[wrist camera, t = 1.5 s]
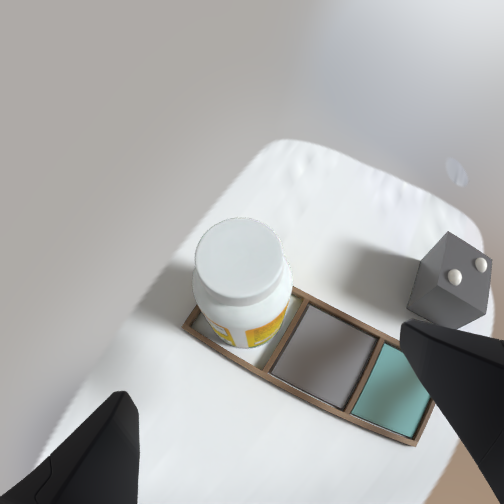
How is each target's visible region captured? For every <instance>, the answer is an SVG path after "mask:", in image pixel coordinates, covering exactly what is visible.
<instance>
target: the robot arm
mask: <svg viewBox="0 0 504 504" xmlns="http://www.w3.org/2000/svg"><path fill="white" fill-rule="evenodd" d="M399 344H400V348H401V350H402V352H403V354H404V355H405V357H406V359H407V360H408V362H409V364H410V365H411V367H412V369H413V371H414V372H415V374H416V376H417V378H418V379H419V381H420V382H421V384H422V385H423V387H424V388H425V389H426V391H427V392H428V393H429V395H430V396H431V398H432V399H433V400H434V402H435V403H436V405H437V406H438V407H439V409H440V410H441V412H442V413H443V415H444V416H445V417H446V419H447V420H448V422H449V423H450V425H451V426H452V428H453V429H454V430H455V432H456V433H457V435H458V436H459V438H460V439H461V441H462V442H463V444H464V445H465V447H466V448H467V450H468V451H469V453H470V455H471V456H472V458H473V459H474V461H475V462H476V464H477V465H478V467H479V469H480V471H481V472H482V474H483V475H484V477H485V479H486V480H487V482H488V484H489V485H490V487H491V488H492V490H493V492H494V494H495V495H496V497H497V499H498V501H499V502H500V504H504V340H499V339H495V338H490V337H486V336H482V335H477V334H473V333H469V332H464V331H460V330H456V329H452V328H448V327H443V326H439V325H435V324H431V323H427V322H423V321H419V320H415V319H410V320H408V321H406V322H403V323H402V325H401V332H400V341H399ZM139 459H140V444H139V413H138V409H137V407H136V406H135V404H134V402H133V401H132V399H131V397H130V396H129V394H128V393H127V392H126V391H117V392H114V393H112V394H111V395H110V396H109V397H108V398H107V399H106V400H105V401H104V402H103V403H102V404H101V405H100V406H99V407H98V408H97V409H96V410H95V411H94V412H93V413H92V414H91V415H90V416H89V417H88V418H87V419H86V420H85V421H84V422H83V423H82V424H81V425H80V426H79V427H78V428H77V429H76V430H75V431H74V432H73V433H72V434H71V435H70V436H69V437H68V438H67V439H66V440H65V441H64V442H63V443H61V444H60V445H59V446H58V447H57V448H56V449H55V450H54V451H53V452H52V453H51V454H50V456H48V457H47V458H46V459H45V460H44V461H43V462H42V463H41V464H40V465H39V466H38V467H37V468H36V469H34V470H33V471H32V472H31V473H30V474H29V475H27V476H26V477H25V478H24V479H23V480H21V481H20V482H19V483H17V484H16V485H15V486H14V487H12V488H11V489H10V490H8V491H7V492H6V493H5V494H3V495H2V496H0V504H137V499H138V475H139Z"/></svg>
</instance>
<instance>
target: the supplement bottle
mask: <svg viewBox="0 0 504 504" xmlns="http://www.w3.org/2000/svg"><path fill="white" fill-rule="evenodd" d="M292 287H293V277H292V271H291V267H290V265H289V262H288V261H287V259H286V257H285V256H284V249H283V246H282V243H281V241H280V239H279V237H278V236H277V234H276V233H275V232H274V231H273V230H272V229H271V228H270V227H269V226H267V225H266V224H264V223H262V222H260V221H257V220H254V219H251V218H231V219H227V220H224V221H222V222H220V223H218V224H216V225H214V226H213V227H211V228H210V229H209V230H208V231H207V232H206V233H205V234H204V235H203V236H202V238H201V239H200V241H199V243H198V246H197V248H196V252H195V269H194V272H193V278H192V288H193V293H194V297H195V300H196V302H197V304H198V306H199V308H200V310H201V311H202V313H203V314H204V316H205V318H206V319H207V321H208V322H209V324H210V325H211V327H212V328H213V330H214V331H215V333H216V334H217V335H218V336H219V337H220V338H221V339H222V340H223V341H224V342H226V343H227V344H229V345H231V346H234V347H237V348H243V349H249V348H256V347H259V346H261V345H263V344H265V343H267V342H268V341H269V340H271V339H272V338H273V337H274V336H275V335H276V333H277V332H278V331H279V329H280V327H281V325H282V322H283V319H284V315H285V312H286V309H287V306H288V303H289V300H290V296H291V293H292Z"/></svg>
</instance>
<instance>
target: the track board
mask: <svg viewBox="0 0 504 504" xmlns="http://www.w3.org/2000/svg"><path fill="white" fill-rule="evenodd" d="M292 294H293V295H295V296H297V297H299V298H301V299H303V302H302V304H301V306H300V307H299V309H298V311H297V313H296V314H295V316H294V318H293V320H292V321H291V323H290V325H289V327H288V328H287V330H286V332H285V334H284V335H283V337H282V339H281V340H280V342H279V344H278V346H277V347H276V349H275V351H274V352H273V354H272V356H271V357H270V359H269V360H268V362H267V364H266V365H265V367H264V369H263V370H260V369H258V368H256V367H255V366H253V365H251V364H249V363H248V362H246V361H244V360H243V359H241V358H239V357H237V356H236V355H234V354H232V353H231V352H229V351H227V350H226V349H224V348H223V347H221V346H219V345H218V344H216V343H214V342H213V341H211V340H210V339H208V338H207V337H205V336H203V335H202V334H200V333H199V332H197V331H196V330H194V329H193V328H191V325H192V324H193V322H194V321H195V319H196V318H197V317H198V315H199V314H200V312H201V310H200V308H199V306H198V304H197V305H196V307H195V308H194V309H193V311H192V312H191V314H190V315H189V317H188V318H187V320H186V321H185V322H184V324H183V325H182V327H181V328H183V329H184V330H185V331H187V332H188V333H190V334H191V335H193V336H194V337H196V338H197V339H199V340H200V341H202V342H204V343H205V344H207V345H208V346H210V347H211V348H213V349H215V350H216V351H218V352H219V353H221V354H223V355H224V356H226V357H228V358H229V359H231V360H233V361H234V362H236V363H238V364H239V365H241V366H243V367H244V368H246V369H248V370H249V371H251V372H253V373H255V374H256V375H258V376H260V377H262V378H264V379H265V380H267V381H269V382H271V383H273V384H274V385H276V386H278V387H280V388H282V389H284V390H286V391H288V392H289V393H291V394H293V395H295V396H297V397H299V398H301V399H303V400H305V401H307V402H309V403H311V404H313V405H315V406H317V407H319V408H321V409H324V410H326V411H328V412H330V413H332V414H334V415H336V416H339V417H341V418H343V419H345V420H347V421H350V422H352V423H354V424H357V425H359V426H361V427H364V428H366V429H369V430H371V431H373V432H376V433H378V434H381V435H383V436H386V437H389V438H391V439H394V440H397V441H399V442H402V443H405V444H408V445H410V446H414V447H416V445H417V443H418V441H419V439H420V437H421V435H422V433H423V431H424V429H425V427H426V424H427V422H428V420H429V418H430V415H431V413H432V411H433V408H434V406H435V402H434V400H433V399H432V398H430V395H429V393H428V392H427V391H426V389H425V388H424V387H423V385H422V384H421V382H420V381H419V379H418V378H417V376H416V374H415V372H414V371H413V369H412V367H411V365H410V364H409V362H408V360H407V359H406V357H405V355H404V354H403V352H401V351H399V350H397V349H395V348H393V347H391V346H389V345H387V344H385V343H384V342H386V343H388V344H390V345H392V346H394V347H396V348H398V349H400V350H401V348H400V344H399V341H398V340H397V339H395V338H393V337H391V336H389V335H387V334H385V333H383V332H381V331H379V330H377V329H375V328H373V327H371V326H369V325H367V324H365V323H363V322H361V321H359V320H357V319H356V318H354V317H352V316H350V315H348V314H346V313H344V312H342V311H340V310H338V309H336V308H334V307H332V306H330V305H328V304H327V303H325V302H323V301H321V300H319V299H317V298H315V297H313V296H311V295H309V294H307V293H305V292H304V291H302V290H300V289H298V288H296V287H294V286H293V287H292ZM308 302H309V303H311V304H312V305H314V306H316V307H318V308H320V309H322V310H324V311H326V312H328V313H330V314H332V315H334V316H335V317H337V318H339V319H341V320H343V321H345V322H347V323H349V324H351V325H353V326H355V327H357V328H359V329H361V330H363V331H365V332H367V333H369V334H371V335H372V336H374V337H376V338H378V340H377V342H376V345H375V347H374V349H373V352H372V354H371V356H370V358H369V360H368V363H367V365H366V367H365V369H364V371H363V373H362V375H361V377H360V379H359V381H358V383H357V385H356V387H355V389H354V391H353V393H352V395H351V397H350V399H349V401H348V403H347V405H346V406H345V408H344V410H343V412H342V411H340V410H338V409H336V408H333V407H331V406H329V405H327V404H325V403H323V402H321V401H319V400H317V399H315V398H313V397H311V396H309V395H307V394H305V393H303V392H301V391H299V390H297V389H295V388H293V387H291V386H289V385H287V384H285V383H284V382H282V381H280V380H278V379H276V378H274V377H272V376H271V375H269V374H267V373H268V372H269V370H270V368H271V367H272V365H273V364H274V362H275V360H276V359H277V357H278V355H279V353H280V352H281V350H282V348H283V347H284V345H285V343H286V342H287V340H288V338H289V336H290V335H291V333H292V331H293V329H294V328H295V326H296V324H297V322H298V321H299V319H300V317H301V315H302V313H303V312H304V310H305V308H306V306H307V304H308ZM375 340H376V339H375V338H373V337H371V336H369V335H367V334H365V333H363V332H361V331H359V330H357V329H355V328H353V327H351V326H349V325H347V324H346V323H344V322H342V321H340V320H338V319H336V318H334V317H332V316H330V315H328V314H326V313H324V312H322V311H320V310H319V309H317V308H315V307H313V306H311V305H310V306H309V308H308V310H307V312H306V313H305V315H304V317H303V319H302V321H301V322H300V324H299V326H298V328H297V330H296V331H295V333H294V335H293V337H292V338H291V340H290V342H289V344H288V345H287V347H286V349H285V350H284V352H283V354H282V356H281V357H280V359H279V361H278V362H277V364H276V366H275V367H274V369H273V371H272V372H271V373H272V374H274V375H275V376H277V377H279V378H281V379H283V380H285V381H287V382H288V383H290V384H292V385H294V386H296V387H298V388H300V389H302V390H304V391H306V392H308V393H310V394H312V395H314V396H316V397H318V398H320V399H322V400H324V401H326V402H328V403H330V404H332V405H334V406H337V407H339V408H341V409H342V408H343V406H344V404H345V403H346V401H347V399H348V397H349V395H350V393H351V391H352V389H353V387H354V385H355V383H356V381H357V379H358V377H359V375H360V373H361V371H362V369H363V367H364V365H365V363H366V361H367V358H368V356H369V354H370V352H371V350H372V347H373V345H374V343H375ZM383 343H384V344H383ZM382 345H383V346H382ZM381 347H382V349H381ZM380 350H381V351H380ZM379 352H380V353H379ZM378 354H379V356H378ZM377 357H378V358H377ZM376 359H377V360H376ZM375 361H376V363H375ZM374 363H375V365H374ZM373 366H374V367H373ZM372 368H373V369H372ZM371 370H372V371H371ZM370 372H371V373H370ZM369 374H370V376H369ZM368 376H369V378H368ZM367 378H368V380H367ZM366 381H367V382H366ZM365 383H366V384H365ZM364 385H365V386H364ZM363 387H364V388H363ZM362 389H363V390H362ZM361 391H362V392H361ZM360 393H361V394H360ZM359 395H360V396H359ZM358 397H359V398H358ZM429 398H430V400H429ZM357 399H358V400H357ZM356 401H357V402H356ZM428 401H429V403H428ZM355 402H356V404H355ZM427 403H428V405H427ZM354 404H355V406H354ZM353 406H354V407H353ZM426 406H427V408H426ZM352 408H353V409H352ZM425 408H426V410H425ZM351 410H352V411H351ZM424 410H425V412H424ZM350 412H351V413H352V414H354V415H356V416H359V417H361V418H363V419H366V420H368V421H370V422H373V423H375V424H377V425H380V426H382V427H385V428H387V429H390V430H392V431H395V432H397V433H400V434H403V435H405V436H408V437H411V438H412V436H413V434H414V432H415V430H416V428H417V426H418V424H419V422H420V424H419V426H418V428H417V430H416V432H415V434H414V436H413V438H412V440H410V439H407V438H405V437H402V436H399V435H397V434H394V433H392V432H389V431H386V430H384V429H381V428H379V427H377V426H374V425H372V424H369V423H367V422H365V421H362V420H360V419H358V418H355V417H353V416H351V415H349V414H350ZM423 413H424V415H423ZM422 415H423V417H422ZM421 417H422V419H421ZM420 419H421V421H420Z"/></svg>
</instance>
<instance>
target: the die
mask: <svg viewBox="0 0 504 504" xmlns="http://www.w3.org/2000/svg"><path fill="white" fill-rule="evenodd" d="M491 268H492V259H490V258H489V257H488V256H486V255H485V254H483V253H482V252H480V251H479V250H477V249H476V248H474V247H473V246H471V245H470V244H468V243H466V242H465V241H463V240H462V239H460V238H458V237H457V236H455V235H454V234H452V233H450V232H449V231H447V233H446V234H445V235H444V236H443V237H442V238H441V239H440V240H439V242H438V243H437V244H436V245H435V246H434V247H433V248H432V249H431V250H430V251H429V252H428V254H427V255H426V256H425V257H424V258H423V259H422V260H421V262H420V266H419V269H418V273H417V277H416V280H415V283H414V287H413V290H412V293H411V296H410V299H409V302H408V306H407V309H409V310H410V311H412V312H414V313H416V314H418V315H420V316H422V317H423V318H425V319H427V320H429V321H431V322H433V323H435V324H436V325H439V326H443V327H448V328H452V329H458V328H460V327H462V326H464V325H466V324H468V323H470V322H472V321H474V320H476V319H478V318H480V317H482V316H484V315H485V314H486V310H487V304H488V297H489V289H490V280H491V270H492V269H491Z"/></svg>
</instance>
